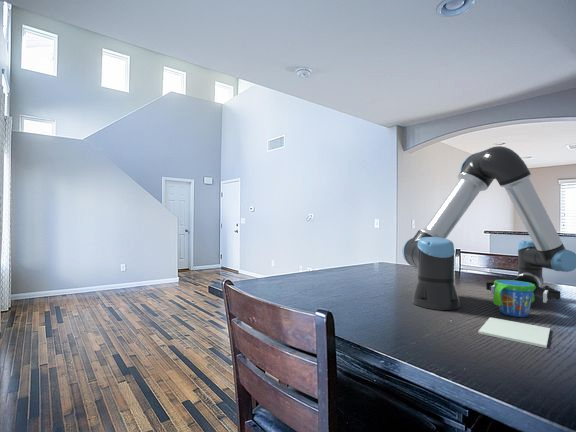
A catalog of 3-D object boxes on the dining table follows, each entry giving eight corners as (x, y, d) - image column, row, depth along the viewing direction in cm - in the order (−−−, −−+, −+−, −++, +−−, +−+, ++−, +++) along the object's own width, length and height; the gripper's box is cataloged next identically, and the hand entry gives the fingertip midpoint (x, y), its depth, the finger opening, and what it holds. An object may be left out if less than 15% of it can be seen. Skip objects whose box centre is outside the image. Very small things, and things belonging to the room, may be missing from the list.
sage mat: (546, 348, 74) (546, 345, 74) (478, 333, 84) (478, 331, 84) (550, 330, 86) (550, 328, 86) (490, 319, 96) (489, 317, 96)
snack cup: (518, 308, 108) (518, 278, 108) (550, 317, 97) (550, 284, 97) (480, 311, 104) (480, 280, 104) (509, 321, 94) (509, 287, 94)
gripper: (572, 300, 108) (569, 314, 92) (487, 289, 125) (473, 298, 110) (572, 278, 108) (569, 288, 92) (487, 270, 125) (473, 277, 110)
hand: (517, 294), depth 101 cm, fingers open, 13 cm apart
